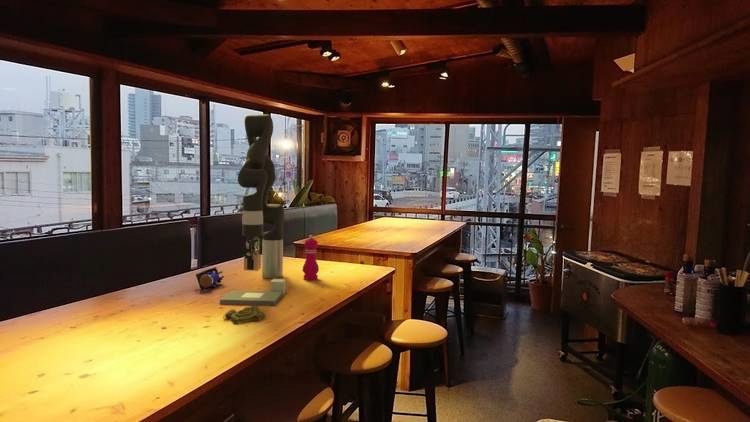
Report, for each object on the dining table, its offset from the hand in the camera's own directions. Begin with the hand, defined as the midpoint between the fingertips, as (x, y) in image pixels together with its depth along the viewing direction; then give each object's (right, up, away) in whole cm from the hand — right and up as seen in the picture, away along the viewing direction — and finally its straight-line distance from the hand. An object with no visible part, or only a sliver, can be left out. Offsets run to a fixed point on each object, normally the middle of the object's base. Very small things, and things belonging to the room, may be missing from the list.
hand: (252, 267), depth 184 cm
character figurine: (-22, -10, +19) cm, 31 cm away
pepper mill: (+17, -10, +39) cm, 43 cm away
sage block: (+7, -11, +13) cm, 19 cm away
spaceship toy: (+3, -14, -20) cm, 25 cm away
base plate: (0, -12, +1) cm, 12 cm away
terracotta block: (0, 0, 0) cm, 0 cm away
